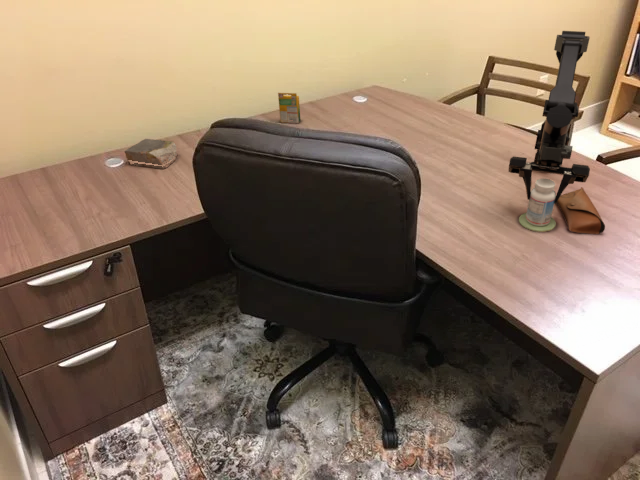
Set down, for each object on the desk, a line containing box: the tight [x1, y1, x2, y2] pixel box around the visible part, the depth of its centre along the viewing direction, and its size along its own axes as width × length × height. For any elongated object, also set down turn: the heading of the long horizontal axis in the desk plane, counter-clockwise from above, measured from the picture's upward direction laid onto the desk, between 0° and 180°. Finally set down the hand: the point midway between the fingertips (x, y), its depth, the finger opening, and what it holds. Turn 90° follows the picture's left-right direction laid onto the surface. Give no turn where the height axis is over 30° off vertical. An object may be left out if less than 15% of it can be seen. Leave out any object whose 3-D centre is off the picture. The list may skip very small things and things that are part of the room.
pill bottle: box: [525, 178, 557, 226], centre depth 136 cm, size 6×6×11 cm
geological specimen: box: [124, 138, 178, 170], centre depth 180 cm, size 11×6×15 cm
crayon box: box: [277, 92, 301, 124], centre depth 201 cm, size 7×3×12 cm, turn 77°
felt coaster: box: [518, 212, 557, 233], centre depth 140 cm, size 9×9×1 cm
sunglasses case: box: [556, 186, 606, 235], centre depth 141 cm, size 18×7×7 cm, turn 175°
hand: (541, 201), depth 135 cm, fingers closed on pill bottle, 6 cm apart
